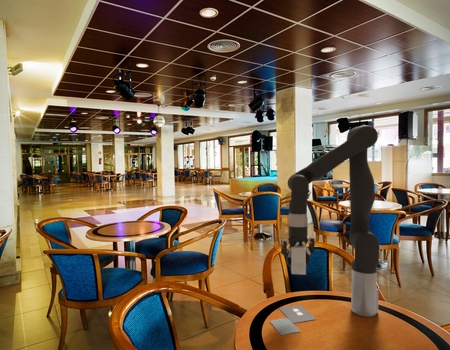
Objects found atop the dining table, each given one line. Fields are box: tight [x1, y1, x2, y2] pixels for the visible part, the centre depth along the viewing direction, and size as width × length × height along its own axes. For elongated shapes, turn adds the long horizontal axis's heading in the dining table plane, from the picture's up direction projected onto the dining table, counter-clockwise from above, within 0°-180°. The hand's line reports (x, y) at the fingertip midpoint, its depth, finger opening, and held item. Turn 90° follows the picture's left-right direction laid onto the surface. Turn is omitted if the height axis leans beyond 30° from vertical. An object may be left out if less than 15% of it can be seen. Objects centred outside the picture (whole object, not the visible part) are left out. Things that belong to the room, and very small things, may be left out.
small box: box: [290, 246, 307, 276], centre depth 121 cm, size 8×6×10 cm
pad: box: [269, 317, 301, 336], centre depth 111 cm, size 8×10×1 cm
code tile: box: [278, 304, 317, 325], centre depth 120 cm, size 10×12×1 cm
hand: (298, 264), depth 121 cm, fingers closed on small box, 7 cm apart
